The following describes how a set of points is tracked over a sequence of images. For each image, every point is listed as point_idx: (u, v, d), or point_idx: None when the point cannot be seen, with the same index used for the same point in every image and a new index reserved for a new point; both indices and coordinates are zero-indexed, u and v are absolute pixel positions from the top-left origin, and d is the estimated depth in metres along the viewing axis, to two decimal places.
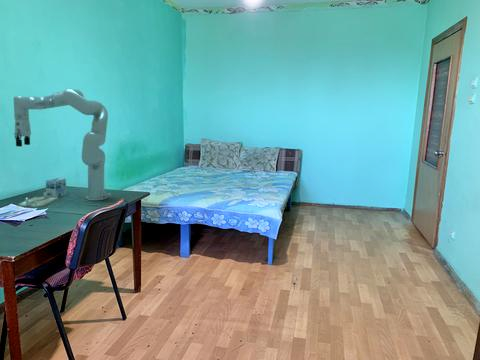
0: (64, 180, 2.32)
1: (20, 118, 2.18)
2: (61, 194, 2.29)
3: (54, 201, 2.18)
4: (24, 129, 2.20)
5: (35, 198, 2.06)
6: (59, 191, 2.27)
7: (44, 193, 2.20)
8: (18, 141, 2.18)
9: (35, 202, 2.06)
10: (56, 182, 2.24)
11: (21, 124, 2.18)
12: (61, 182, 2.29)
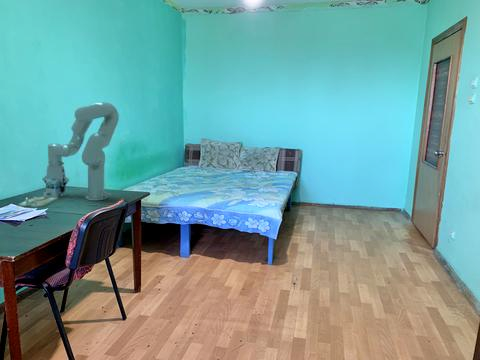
0: None
1: (62, 164, 2.28)
2: (60, 194, 2.29)
3: (54, 201, 2.18)
4: None
5: (35, 198, 2.06)
6: (59, 191, 2.27)
7: (44, 193, 2.20)
8: (64, 187, 2.30)
9: (35, 202, 2.06)
10: (56, 182, 2.24)
11: (64, 170, 2.29)
12: None
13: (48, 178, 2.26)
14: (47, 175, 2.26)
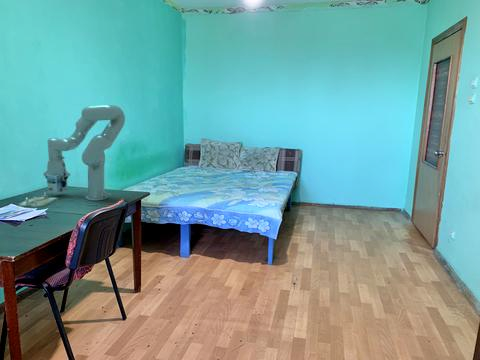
0: None
1: (62, 159, 2.27)
2: (62, 189, 2.29)
3: (54, 201, 2.18)
4: None
5: (35, 198, 2.06)
6: (60, 185, 2.27)
7: (44, 193, 2.20)
8: (65, 182, 2.29)
9: (35, 202, 2.06)
10: (57, 177, 2.24)
11: None
12: None
13: (49, 173, 2.26)
14: (48, 170, 2.25)
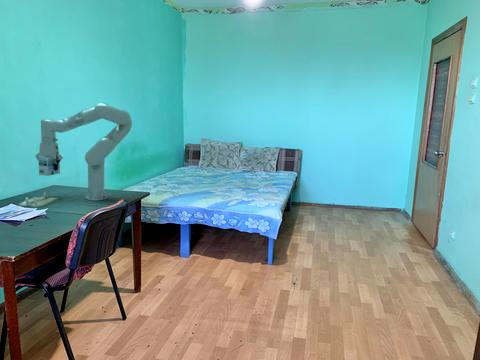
0: (58, 158, 2.24)
1: (55, 141, 2.19)
2: (54, 172, 2.21)
3: (54, 201, 2.18)
4: None
5: (35, 198, 2.06)
6: (52, 168, 2.19)
7: (44, 193, 2.20)
8: (57, 165, 2.21)
9: (35, 202, 2.06)
10: (49, 159, 2.16)
11: None
12: None
13: (41, 155, 2.18)
14: (40, 152, 2.18)
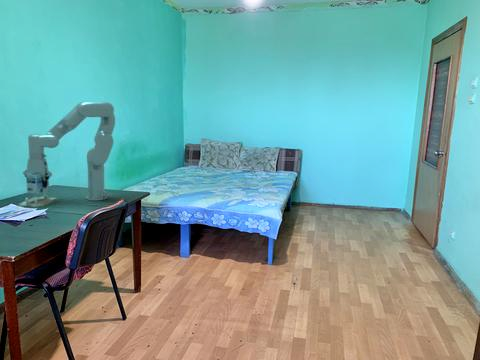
0: None
1: (44, 157, 2.10)
2: (43, 189, 2.12)
3: (54, 201, 2.18)
4: None
5: (35, 198, 2.06)
6: (41, 186, 2.10)
7: (44, 193, 2.20)
8: (46, 182, 2.12)
9: (35, 202, 2.06)
10: (37, 176, 2.06)
11: (46, 163, 2.11)
12: None
13: (29, 172, 2.08)
14: (28, 168, 2.08)
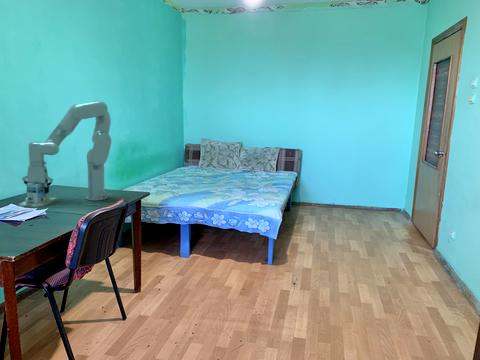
0: None
1: (44, 164, 2.11)
2: (43, 198, 2.13)
3: (54, 201, 2.18)
4: None
5: (35, 198, 2.06)
6: (41, 195, 2.11)
7: None
8: (48, 188, 2.12)
9: (35, 202, 2.06)
10: (38, 185, 2.08)
11: None
12: (43, 185, 2.13)
13: (29, 179, 2.09)
14: (28, 176, 2.09)
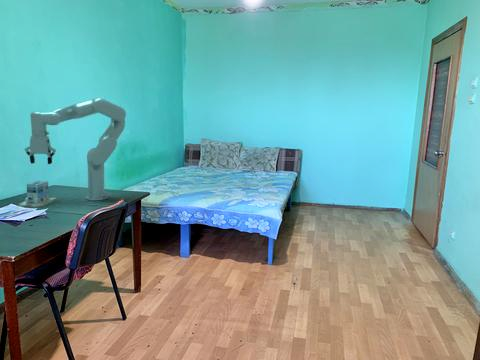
0: (46, 183, 2.15)
1: (46, 135, 2.10)
2: (43, 198, 2.13)
3: (54, 201, 2.18)
4: None
5: (35, 198, 2.06)
6: (41, 195, 2.11)
7: None
8: (51, 158, 2.12)
9: (35, 202, 2.06)
10: (38, 185, 2.08)
11: (49, 140, 2.12)
12: (43, 185, 2.13)
13: (32, 149, 2.09)
14: (31, 146, 2.08)
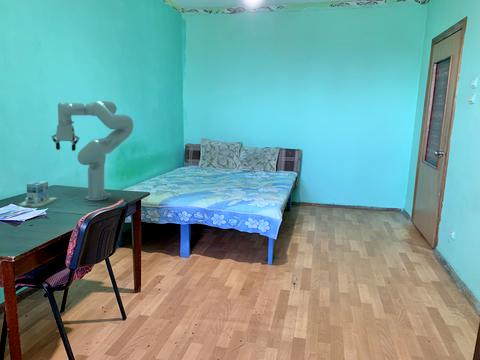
0: (46, 183, 2.15)
1: (71, 124, 2.31)
2: (43, 198, 2.13)
3: (54, 201, 2.18)
4: None
5: (35, 198, 2.06)
6: (41, 195, 2.11)
7: None
8: (75, 145, 2.33)
9: (35, 202, 2.06)
10: (38, 185, 2.08)
11: (73, 129, 2.33)
12: (43, 185, 2.13)
13: (58, 137, 2.29)
14: (57, 134, 2.29)
